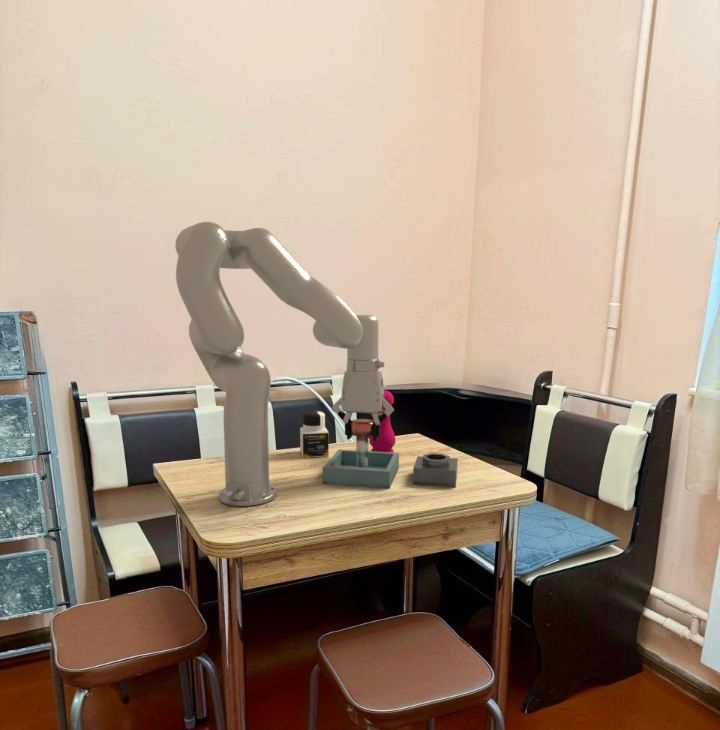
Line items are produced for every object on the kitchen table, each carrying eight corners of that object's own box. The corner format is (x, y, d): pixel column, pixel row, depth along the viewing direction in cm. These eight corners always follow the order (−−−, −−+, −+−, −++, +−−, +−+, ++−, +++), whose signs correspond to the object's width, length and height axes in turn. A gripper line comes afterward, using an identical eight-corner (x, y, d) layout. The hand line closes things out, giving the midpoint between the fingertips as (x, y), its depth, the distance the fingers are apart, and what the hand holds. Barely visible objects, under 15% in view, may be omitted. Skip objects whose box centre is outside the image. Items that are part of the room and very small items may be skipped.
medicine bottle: (303, 458, 159) (302, 415, 157) (300, 451, 166) (299, 410, 164) (328, 456, 160) (328, 414, 159) (325, 450, 167) (324, 409, 166)
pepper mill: (399, 454, 162) (400, 384, 160) (387, 461, 156) (387, 387, 154) (377, 451, 166) (378, 382, 164) (364, 457, 160) (364, 385, 158)
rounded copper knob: (376, 462, 146) (376, 419, 145) (372, 469, 140) (372, 425, 139) (353, 461, 147) (353, 418, 146) (347, 468, 141) (347, 423, 140)
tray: (389, 488, 135) (389, 471, 134) (322, 483, 138) (322, 467, 137) (398, 467, 150) (399, 452, 150) (338, 464, 153) (338, 449, 153)
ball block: (455, 487, 136) (456, 464, 135) (412, 484, 138) (413, 461, 137) (457, 474, 145) (457, 452, 145) (417, 471, 147) (417, 450, 147)
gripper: (400, 365, 143) (399, 437, 145) (332, 363, 146) (332, 433, 148) (395, 369, 135) (394, 444, 138) (324, 367, 139) (324, 440, 141)
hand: (362, 438), depth 143 cm, fingers closed on rounded copper knob, 5 cm apart
